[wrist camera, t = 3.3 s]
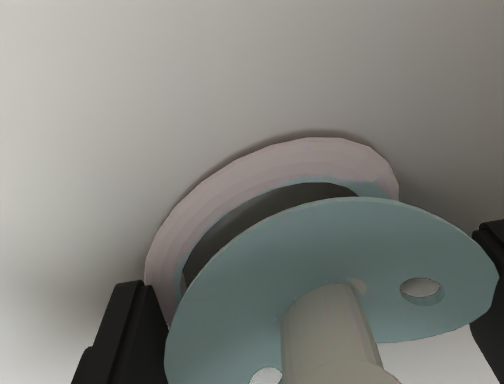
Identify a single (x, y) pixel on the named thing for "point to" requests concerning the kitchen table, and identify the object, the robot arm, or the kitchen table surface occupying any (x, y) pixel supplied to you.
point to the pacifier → (310, 272)
